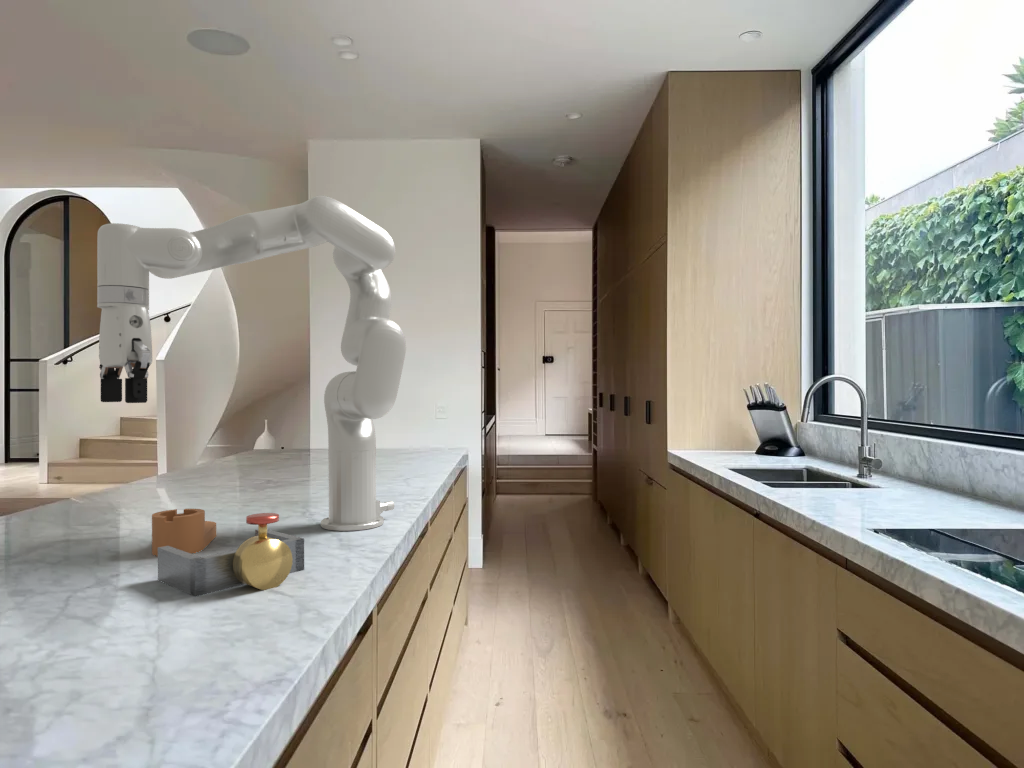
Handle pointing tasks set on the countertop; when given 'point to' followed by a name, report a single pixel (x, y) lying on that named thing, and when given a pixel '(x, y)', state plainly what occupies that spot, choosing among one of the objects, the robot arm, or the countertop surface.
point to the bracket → (182, 530)
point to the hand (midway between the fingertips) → (123, 402)
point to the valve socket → (235, 562)
